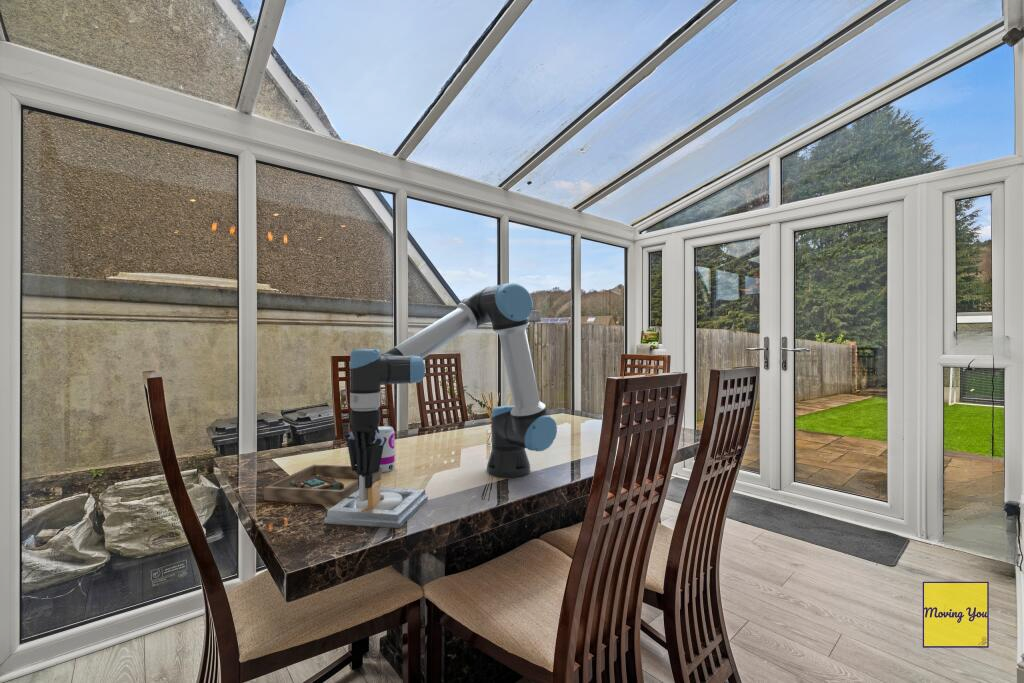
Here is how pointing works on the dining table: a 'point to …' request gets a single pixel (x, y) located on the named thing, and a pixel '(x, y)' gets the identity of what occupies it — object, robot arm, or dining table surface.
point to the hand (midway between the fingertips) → (365, 499)
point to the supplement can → (387, 449)
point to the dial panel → (394, 518)
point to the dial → (380, 499)
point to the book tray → (315, 496)
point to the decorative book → (318, 483)
